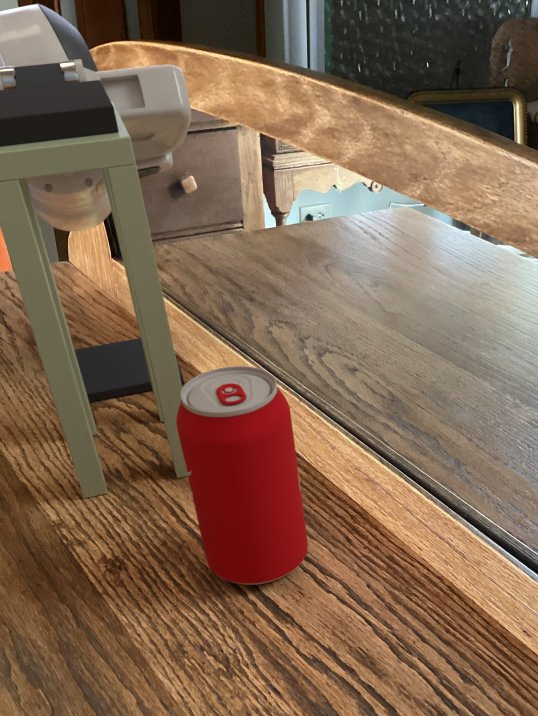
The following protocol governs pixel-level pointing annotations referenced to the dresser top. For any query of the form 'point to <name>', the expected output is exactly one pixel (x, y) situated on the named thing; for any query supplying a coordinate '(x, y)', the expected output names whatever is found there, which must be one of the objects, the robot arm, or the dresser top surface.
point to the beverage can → (243, 474)
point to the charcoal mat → (115, 370)
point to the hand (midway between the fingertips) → (39, 75)
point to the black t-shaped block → (53, 107)
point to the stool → (41, 298)
